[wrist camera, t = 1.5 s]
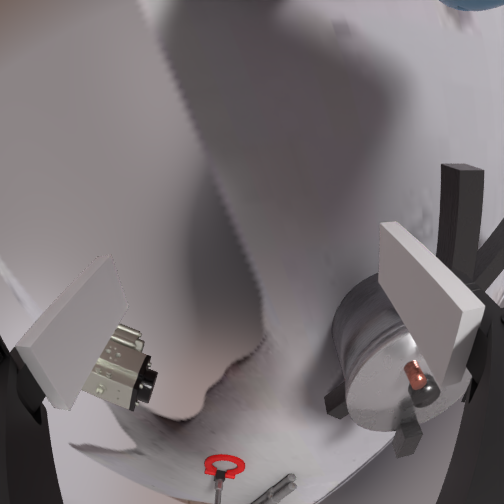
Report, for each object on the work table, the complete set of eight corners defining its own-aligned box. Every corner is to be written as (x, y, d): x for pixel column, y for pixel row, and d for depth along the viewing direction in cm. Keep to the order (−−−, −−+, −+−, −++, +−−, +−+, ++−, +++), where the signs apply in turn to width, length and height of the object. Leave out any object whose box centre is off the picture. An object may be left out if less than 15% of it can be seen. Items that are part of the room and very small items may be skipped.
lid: (450, 420, 34) (459, 439, 31) (338, 447, 35) (342, 471, 32) (515, 163, 21) (542, 172, 17) (348, 165, 22) (365, 174, 18)
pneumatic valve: (163, 359, 44) (142, 422, 33) (91, 331, 43) (56, 385, 32) (171, 333, 42) (148, 397, 31) (94, 303, 41) (54, 357, 30)
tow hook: (209, 449, 54) (200, 468, 58) (203, 502, 42) (194, 516, 46) (250, 456, 55) (237, 475, 58) (249, 509, 43) (235, 523, 46)
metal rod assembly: (254, 506, 67) (253, 521, 63) (244, 505, 67) (244, 519, 63) (298, 472, 58) (299, 490, 53) (287, 471, 58) (288, 489, 53)
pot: (314, 210, 35) (335, 248, 25) (497, 196, 33) (550, 223, 23) (319, 380, 45) (329, 438, 35) (466, 350, 43) (495, 394, 33)
